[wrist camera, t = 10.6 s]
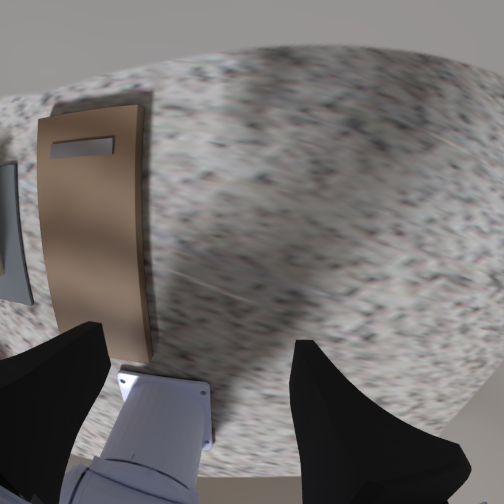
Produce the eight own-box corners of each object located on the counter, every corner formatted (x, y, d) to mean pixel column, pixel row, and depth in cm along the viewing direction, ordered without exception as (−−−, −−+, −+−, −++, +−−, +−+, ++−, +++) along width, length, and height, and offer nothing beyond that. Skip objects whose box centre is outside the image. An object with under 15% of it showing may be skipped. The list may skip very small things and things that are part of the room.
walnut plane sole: (153, 354, 22) (148, 365, 21) (69, 340, 22) (62, 348, 21) (144, 107, 17) (136, 104, 16) (47, 119, 17) (36, 119, 15)
